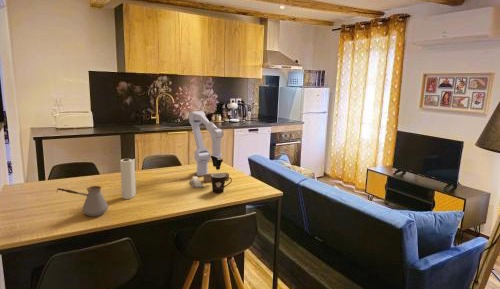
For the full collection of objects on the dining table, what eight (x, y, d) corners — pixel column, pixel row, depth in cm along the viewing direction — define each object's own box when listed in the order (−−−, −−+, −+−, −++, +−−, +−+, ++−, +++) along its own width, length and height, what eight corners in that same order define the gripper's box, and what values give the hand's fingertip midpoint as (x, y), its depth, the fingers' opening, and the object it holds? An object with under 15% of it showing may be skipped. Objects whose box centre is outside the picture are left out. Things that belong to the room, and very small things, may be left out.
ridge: (189, 181, 211) (189, 176, 211) (199, 180, 214) (199, 175, 213) (193, 188, 199) (193, 183, 198) (203, 187, 201) (203, 182, 200)
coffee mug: (208, 192, 192) (208, 176, 190) (214, 188, 200) (214, 172, 198) (226, 195, 189) (227, 178, 187) (232, 190, 197) (232, 174, 195)
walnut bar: (203, 180, 215) (203, 173, 214) (227, 178, 220) (227, 172, 219) (204, 182, 211) (204, 175, 210) (228, 180, 216) (228, 174, 215)
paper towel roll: (121, 199, 177) (119, 161, 172) (122, 195, 182) (120, 158, 178) (135, 198, 179) (134, 160, 174) (136, 194, 184) (134, 158, 180)
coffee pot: (106, 207, 166) (105, 178, 163) (110, 215, 157) (108, 185, 154) (58, 214, 156) (55, 184, 153) (58, 224, 146) (55, 192, 143)
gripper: (225, 149, 206) (225, 170, 208) (219, 145, 219) (219, 164, 222) (214, 150, 203) (214, 171, 206) (209, 145, 217) (209, 165, 219)
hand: (216, 168), depth 214 cm, fingers open, 7 cm apart
